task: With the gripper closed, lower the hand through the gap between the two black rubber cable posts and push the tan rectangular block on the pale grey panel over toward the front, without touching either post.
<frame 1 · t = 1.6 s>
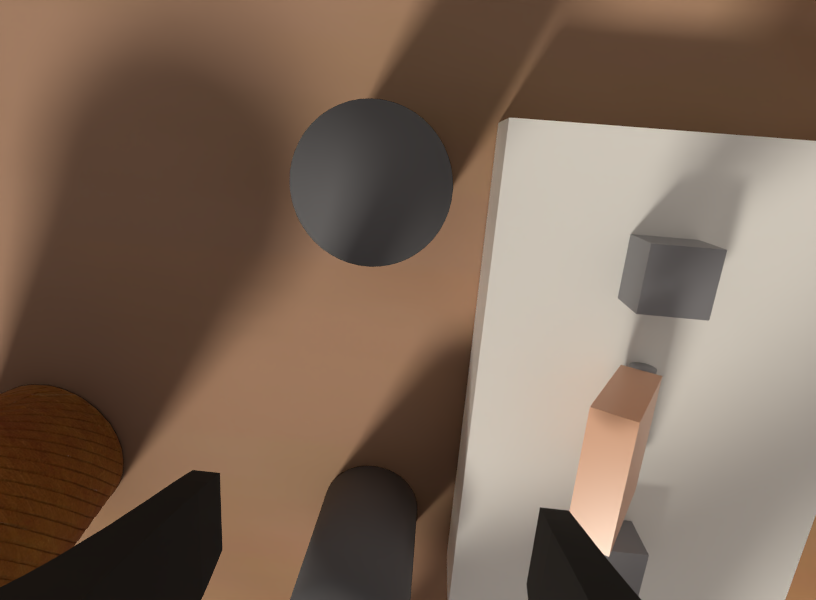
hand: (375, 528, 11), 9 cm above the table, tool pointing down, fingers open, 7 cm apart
panel: (598, 378, 20), on the table
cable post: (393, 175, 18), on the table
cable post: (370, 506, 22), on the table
tan rectangular block: (618, 447, 15), point 5 cm above the table, hinge at 30.0°
disposable coffee cup: (57, 446, 23), on the table
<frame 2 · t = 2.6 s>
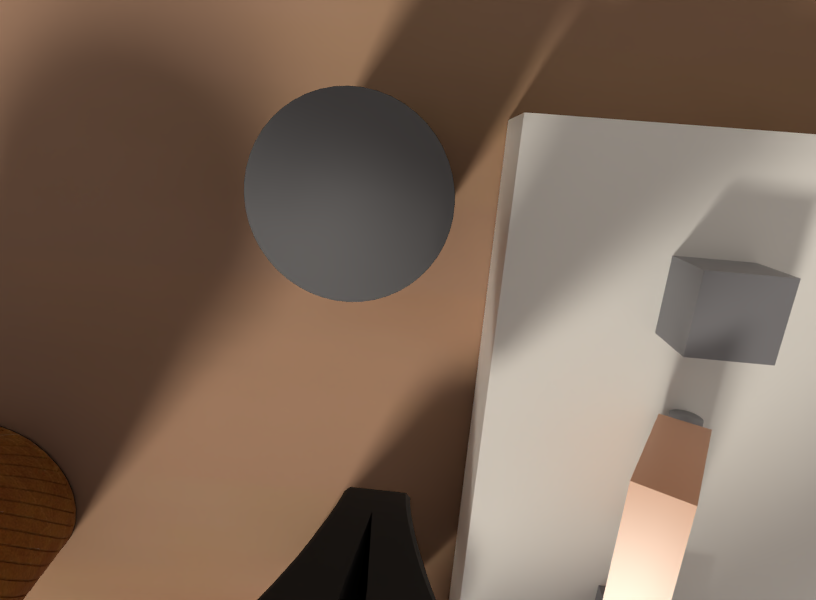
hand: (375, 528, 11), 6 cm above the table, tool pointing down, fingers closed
panel: (624, 418, 17), on the table
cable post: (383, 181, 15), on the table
tan rectangular block: (658, 519, 12), point 5 cm above the table, hinge at 30.0°
disposable coffee cup: (1, 492, 20), on the table
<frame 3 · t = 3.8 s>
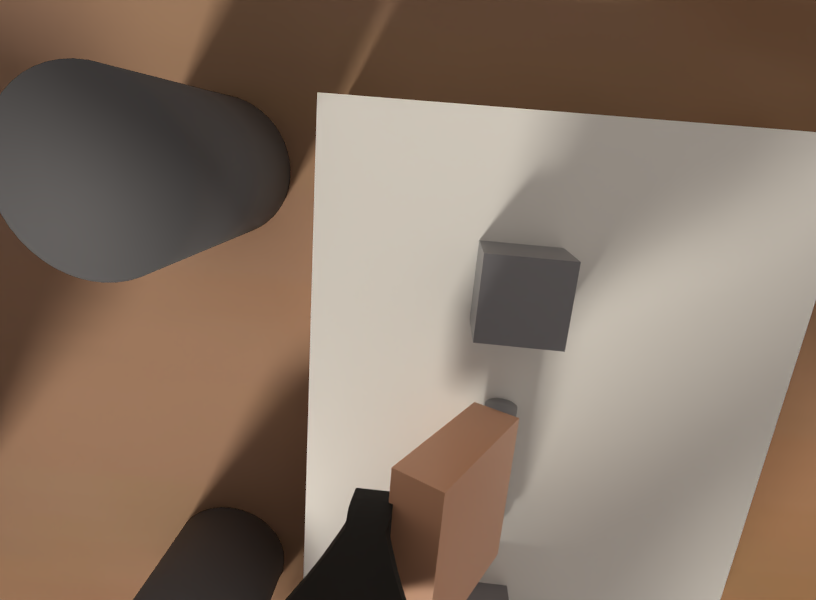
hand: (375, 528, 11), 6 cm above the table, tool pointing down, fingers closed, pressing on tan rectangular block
panel: (481, 409, 17), on the table
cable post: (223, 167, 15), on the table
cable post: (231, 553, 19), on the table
tan rectangular block: (459, 509, 12), point 5 cm above the table, hinge at 29.7°, touching gripper
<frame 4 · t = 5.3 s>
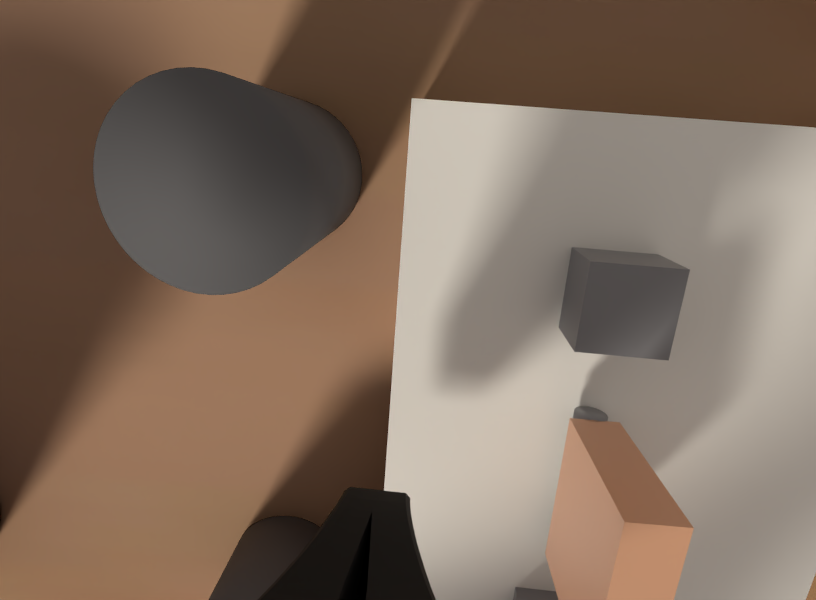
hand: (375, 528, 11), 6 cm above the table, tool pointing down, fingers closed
panel: (550, 415, 17), on the table
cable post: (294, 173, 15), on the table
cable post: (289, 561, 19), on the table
tan rectangular block: (599, 531, 12), point 5 cm above the table, hinge at -1.6°
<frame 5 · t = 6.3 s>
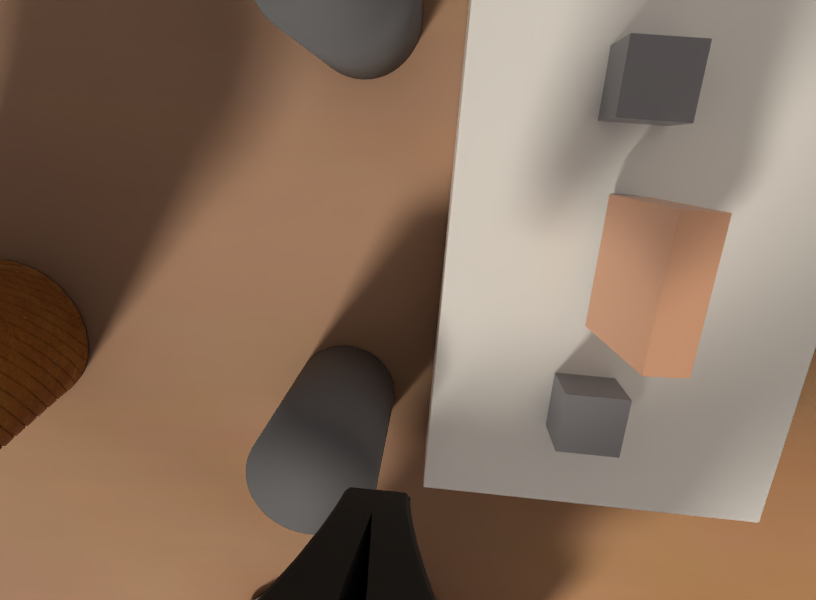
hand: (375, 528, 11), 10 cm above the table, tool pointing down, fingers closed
panel: (582, 241, 19), on the table
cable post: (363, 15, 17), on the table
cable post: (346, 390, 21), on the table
tan rectangular block: (640, 275, 14), point 5 cm above the table, hinge at -6.8°
disposable coffee cup: (19, 331, 22), on the table
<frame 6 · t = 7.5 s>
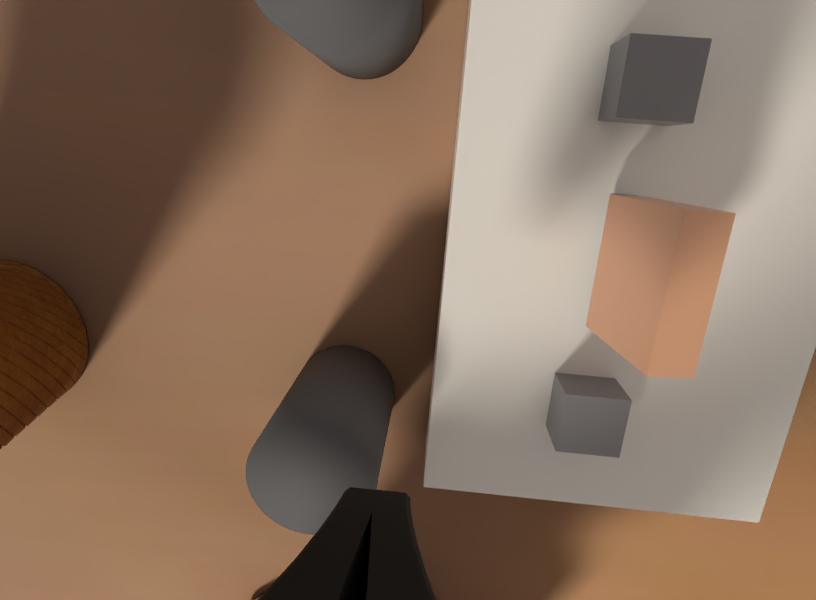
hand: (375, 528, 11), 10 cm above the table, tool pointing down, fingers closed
panel: (582, 241, 19), on the table
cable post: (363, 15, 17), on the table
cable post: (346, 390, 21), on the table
tan rectangular block: (641, 275, 14), point 5 cm above the table, hinge at -8.3°
disposable coffee cup: (19, 331, 22), on the table
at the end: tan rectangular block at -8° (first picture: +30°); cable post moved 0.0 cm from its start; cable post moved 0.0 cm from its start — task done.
